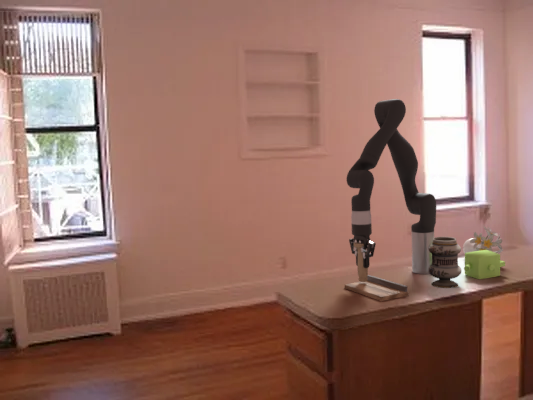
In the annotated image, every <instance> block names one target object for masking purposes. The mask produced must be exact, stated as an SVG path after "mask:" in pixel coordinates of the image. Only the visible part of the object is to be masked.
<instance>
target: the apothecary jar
mask: <svg viewBox="0 0 533 400" xmlns="http://www.w3.org/2000/svg"><path fill="white" fill-rule="evenodd" d="M428 249H429V252H430V253H432V264H431V265H430V266H429V268H428V272H429V273H430V276H432V277H434V278H437V280H434V281H432V282H431V286H433V287H435V288H439V289H450V288H457V287H458V286H459V283H457V282H456V281H454V280H451V279H456V278H458V277H459V276H460V275H461V274H462V268H461V267H460V266H459V263H458V262H459V261H458V258H459V257H458V255H459V254H460V252H461V251H462V247H461V246H460V244H458V242H457V238H456V237H452V236H436V237H435V236H434V238H433V242H432V244H431V245H430V246H429V248H428Z"/></svg>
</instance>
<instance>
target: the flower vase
mask: <svg viewBox="0 0 533 400" xmlns="http://www.w3.org/2000/svg"><path fill="white" fill-rule="evenodd" d="M482 227H483V228H484V230H485V232H486V234H487V236H486V237H485V236H483V233H482V232H481V233H479V234H478V233H477V232H476V231H474V232H473V237H474V238H473V237H470V238H468V239H466V240H465V241H464V243H463V245H462V251H463V254H465V253H468V252H473V251H481V250H489V251H492V252H495V253H497V254H501V253H502V252H504V249H503V246H502V245H501V244H502V243H503V239H502V238H501V233H498V232H495V231H492V228H491V227H489V226H487V227H486V226H485V225H482ZM494 236H496V237H497V238H496V239H495V241H493V240H494ZM496 247H497V248H498V250H496V251H493V248H496Z"/></svg>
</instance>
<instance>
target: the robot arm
mask: <svg viewBox="0 0 533 400" xmlns="http://www.w3.org/2000/svg"><path fill="white" fill-rule="evenodd" d="M406 107H407V106H406V103H405V102H404V101H403V100H401V99H399V98H392V99H386V100H385V99H384V100H381V101H377V102H376V104H375V105H374V109H373V111H374V117H375V120H376V122H377V124H378V127H379V129H378V130H377V132H375V133H374V134H373V135H372V137H370V138H369V139H368V141H367V142H366V144H365V145H364V148H363V150H362V152H361V153H360V156H359V158H358V159H357V160H356V162H355V163H354V164H353V165H352V166H351V167H350V169H349V170H348V172H347V174H346V184H347V186H348V187H349V188H352V189H359V191H358V194H354V195H353V196H352V197H351V203H350V204H351V216H350V217H351V218H350V219H351V220H350V221H351V235H352V236H353V238H349V240H348V243H349V246H350V251H351V254H352V255H354V256H355V264H356V266H357V265H358V249H357V248H356V247H354V243H359V244H361V245H362V244H364V248H363V246H362V248H361V252H362V253H363V267H364V268H368V269H369V268H370V266H371V265H370V258H372V257H374V254H375V249H376V241H374V242H373V241H371V238H370V237H371V235H372V233H373V232H372V231H373V229H372V228H373V227H372V211H371V197H372V193H373V188H374V185H375V178H374V175H373V172H371V171H370V170H372V169H375V168H376V166H377V165H378V162H379V161H380V158H381V156H382V154H383V152H384V150H385V148H386V146H387V147H388V151H389V153H390V157H391V159H392V162H393V165H394V168H395V170H396V173H397V176H398V179H399V182H400V185H401V189H402V193H403V196H404V197H403V198H404V202H405V206H406V209H407V210H408V211H409V213H410V214H412V215H415V216H416V215H417V216H419V220H418V222H416V223H413V224H412V225H411V226H410V228H411V229H410V231H411V235H410V237H411V265H412V266H411V268H412V269H411V271H412V273H414V274H420V275H428V274H430V273H429V272H428V268H429V266H430V265H431V264H432V253H430V252H429V249H428V248H429V246H430V245H431V244H432V242H433V238H435V226H436V223H437V200H436V197H435V196H434V195H433V194H432V193H427V192H426V193H424V192H420V191H419V190H418V188H417V183H416V178H417V177H416V176H417V172H418V170H419V169H418V168H419V160H418V157H417V155H416V152H415V149H414V148H413V146H412V145H411V143H410V142H409V141H408V140H407V139H406V138H405V137H404V136H403V135H402V134H401V133H400V132H399V130H398V128H399V126H400V124H401V123H402V122H403V120H404V118H405V116H406V112H407V111H406V110H407V108H406ZM364 249H367V250H364ZM365 252H367V254H366V253H365Z"/></svg>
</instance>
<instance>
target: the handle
mask: <svg viewBox="0 0 533 400" xmlns="http://www.w3.org/2000/svg"><path fill="white" fill-rule="evenodd" d="M362 246H363V248H364V244H362V245H361V244H359V243H354V248H355V247H356V248H357V249H358V265H356V266H357V275H358V282H366V281H367V279H368V278H367V276H368V275H369V267H368V268H364V267H363V253H362V252H361V248H362ZM364 250H367V249H364ZM365 253H366V254H367V252H365Z"/></svg>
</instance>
